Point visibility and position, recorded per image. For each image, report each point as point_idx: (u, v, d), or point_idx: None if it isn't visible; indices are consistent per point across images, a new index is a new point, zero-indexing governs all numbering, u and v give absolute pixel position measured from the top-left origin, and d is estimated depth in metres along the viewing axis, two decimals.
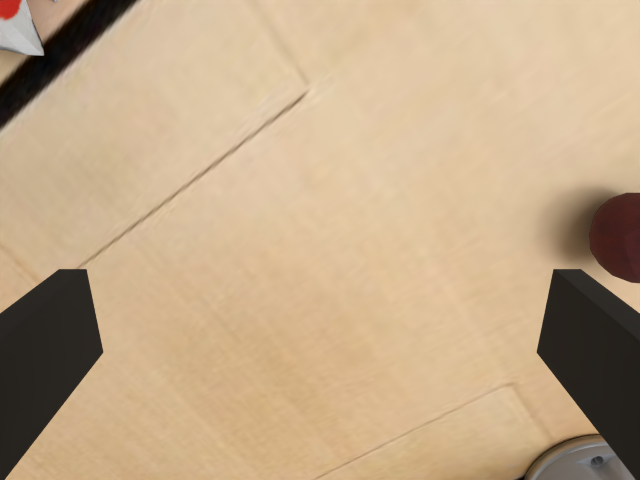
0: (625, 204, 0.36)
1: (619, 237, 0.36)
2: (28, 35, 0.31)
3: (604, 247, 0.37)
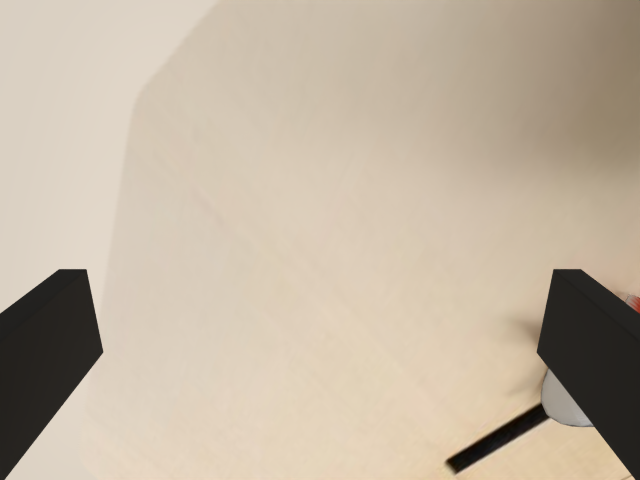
0: None
1: None
2: None
3: None
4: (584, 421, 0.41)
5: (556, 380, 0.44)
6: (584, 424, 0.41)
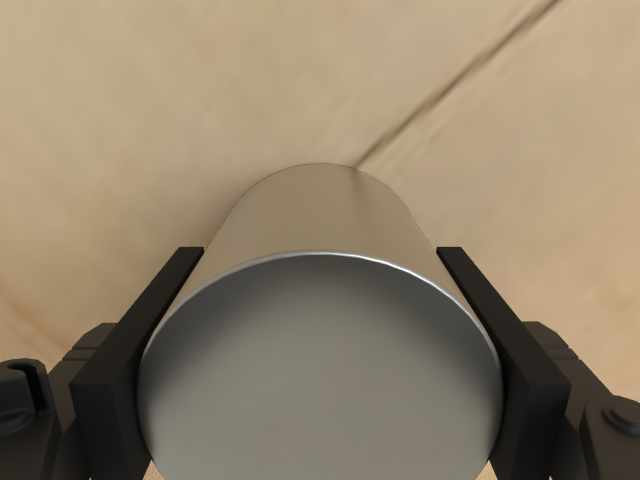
0: None
1: None
2: None
3: None
4: None
5: None
6: None
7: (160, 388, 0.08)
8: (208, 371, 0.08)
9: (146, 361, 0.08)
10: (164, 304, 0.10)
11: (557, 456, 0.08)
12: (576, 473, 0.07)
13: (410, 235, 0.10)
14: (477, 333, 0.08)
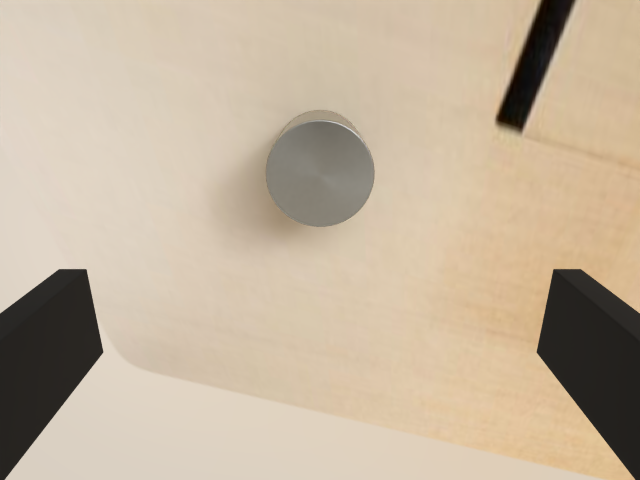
0: None
1: None
2: None
3: None
4: None
5: None
6: None
7: (274, 164, 0.29)
8: (288, 157, 0.29)
9: (271, 154, 0.29)
10: None
11: None
12: None
13: (349, 125, 0.31)
14: (363, 145, 0.29)
